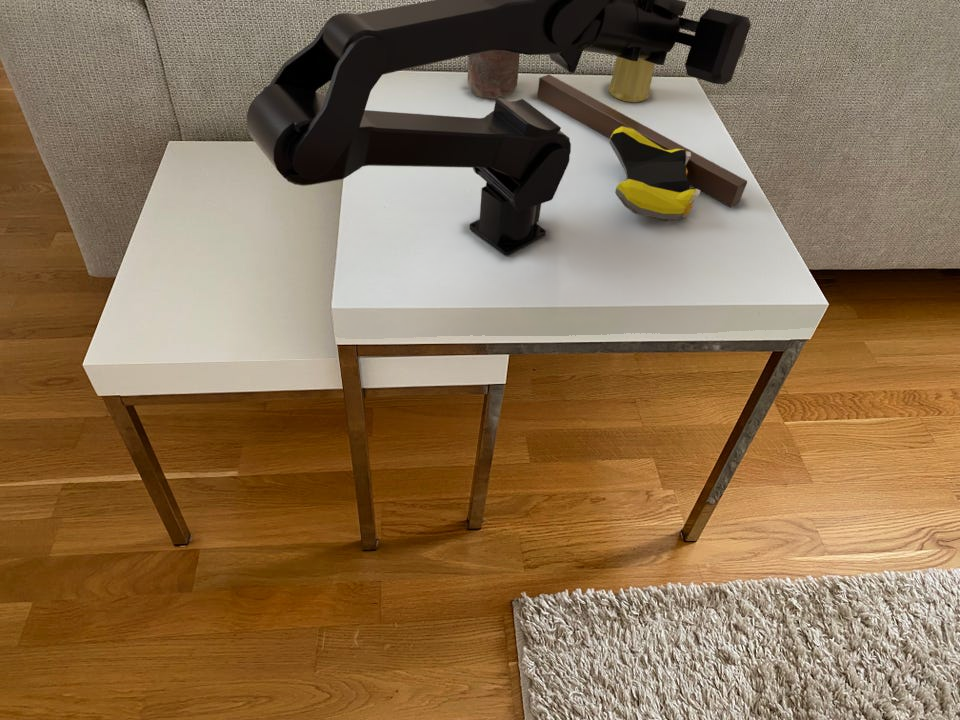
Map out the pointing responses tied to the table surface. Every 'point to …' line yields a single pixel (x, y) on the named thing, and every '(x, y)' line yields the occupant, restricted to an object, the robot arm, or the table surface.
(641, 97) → the vase
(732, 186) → the back rail
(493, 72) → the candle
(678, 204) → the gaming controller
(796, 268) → the table surface
